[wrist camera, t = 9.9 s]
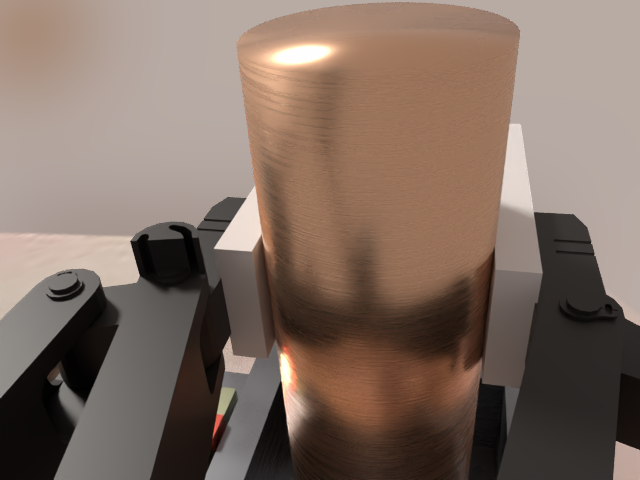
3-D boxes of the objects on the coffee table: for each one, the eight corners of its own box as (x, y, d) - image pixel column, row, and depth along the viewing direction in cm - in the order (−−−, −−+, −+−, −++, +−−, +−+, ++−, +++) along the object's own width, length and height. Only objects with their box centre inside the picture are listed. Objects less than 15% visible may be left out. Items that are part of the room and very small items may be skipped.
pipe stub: (278, 559, 15) (192, 74, 8) (318, 418, 18) (279, 4, 12) (462, 594, 14) (529, 78, 7) (466, 438, 17) (512, 0, 11)
